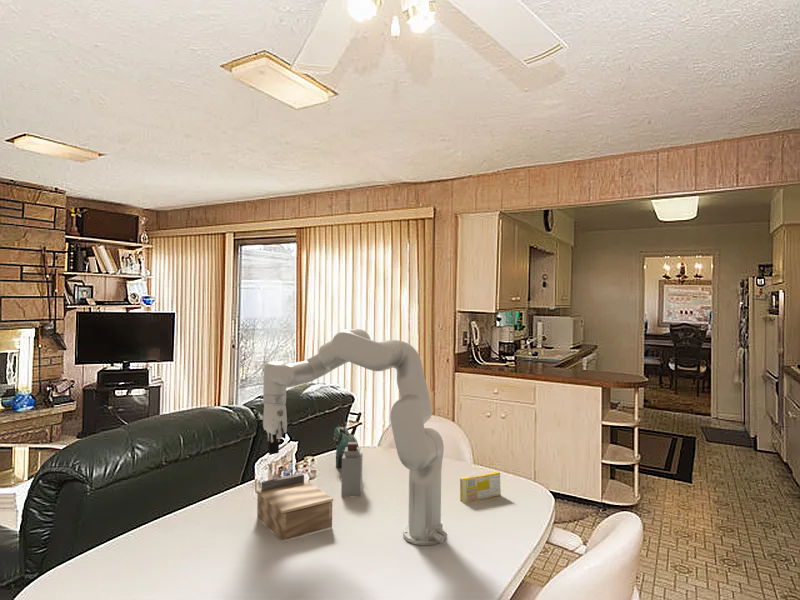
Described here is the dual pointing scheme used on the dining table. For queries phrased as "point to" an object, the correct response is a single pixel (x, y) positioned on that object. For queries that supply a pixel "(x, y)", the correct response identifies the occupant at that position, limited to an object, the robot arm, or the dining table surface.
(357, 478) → the perfume bottle
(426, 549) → the dining table surface
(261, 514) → the wooden box
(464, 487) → the candy box
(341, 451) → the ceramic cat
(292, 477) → the sliding wooden box lid
